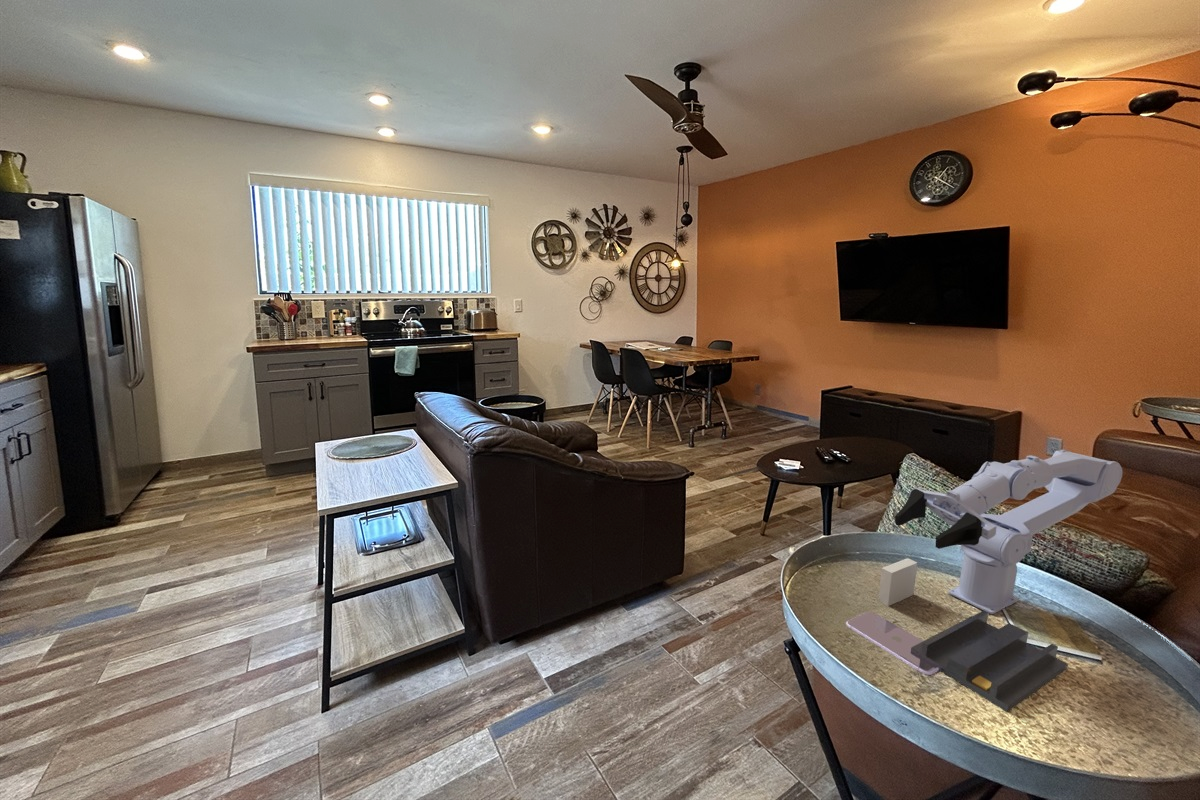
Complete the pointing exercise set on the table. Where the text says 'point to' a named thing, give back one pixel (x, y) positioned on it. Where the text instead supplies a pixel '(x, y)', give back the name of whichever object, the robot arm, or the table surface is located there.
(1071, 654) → the table surface
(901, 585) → the panel
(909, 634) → the mobile phone
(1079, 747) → the table surface
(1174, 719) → the table surface
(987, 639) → the charcoal rack
